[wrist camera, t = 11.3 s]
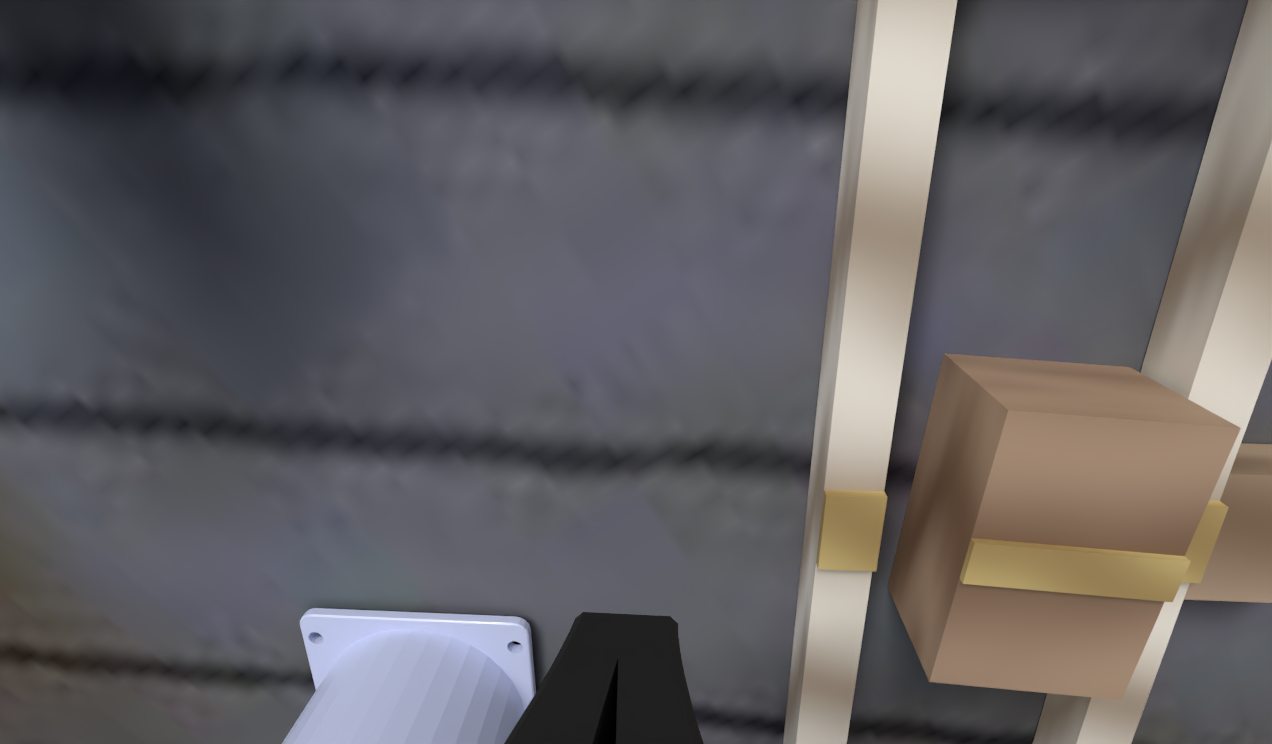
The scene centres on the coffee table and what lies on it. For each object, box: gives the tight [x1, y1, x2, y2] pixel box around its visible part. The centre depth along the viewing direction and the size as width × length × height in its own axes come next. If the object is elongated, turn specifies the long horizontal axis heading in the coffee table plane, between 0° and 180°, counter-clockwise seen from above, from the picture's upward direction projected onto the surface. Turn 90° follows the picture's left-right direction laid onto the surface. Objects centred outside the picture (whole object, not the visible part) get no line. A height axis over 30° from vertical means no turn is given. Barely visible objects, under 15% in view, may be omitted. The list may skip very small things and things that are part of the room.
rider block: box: [888, 353, 1241, 700], centre depth 18 cm, size 8×5×4 cm, turn 177°
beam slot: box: [783, 0, 1272, 744], centre depth 18 cm, size 32×13×2 cm, turn 0°
